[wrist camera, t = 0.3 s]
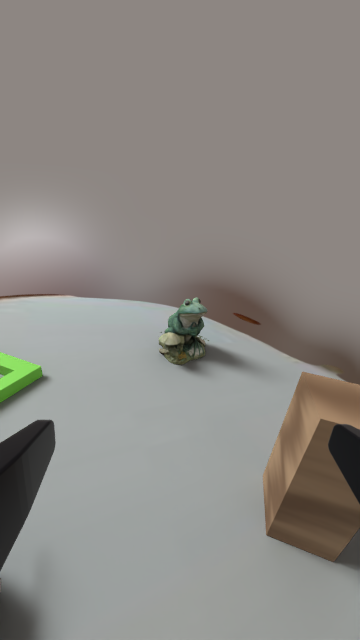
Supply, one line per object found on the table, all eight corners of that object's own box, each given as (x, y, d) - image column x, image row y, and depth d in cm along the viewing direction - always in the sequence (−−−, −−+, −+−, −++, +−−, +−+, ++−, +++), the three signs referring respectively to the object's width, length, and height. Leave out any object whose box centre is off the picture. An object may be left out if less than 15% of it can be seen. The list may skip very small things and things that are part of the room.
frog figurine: (164, 394, 32) (170, 323, 28) (121, 341, 46) (120, 287, 41) (244, 364, 42) (258, 307, 38) (189, 327, 55) (194, 282, 51)
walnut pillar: (333, 562, 17) (421, 445, 12) (266, 535, 18) (320, 418, 13) (315, 493, 21) (374, 388, 16) (262, 475, 22) (302, 371, 17)
